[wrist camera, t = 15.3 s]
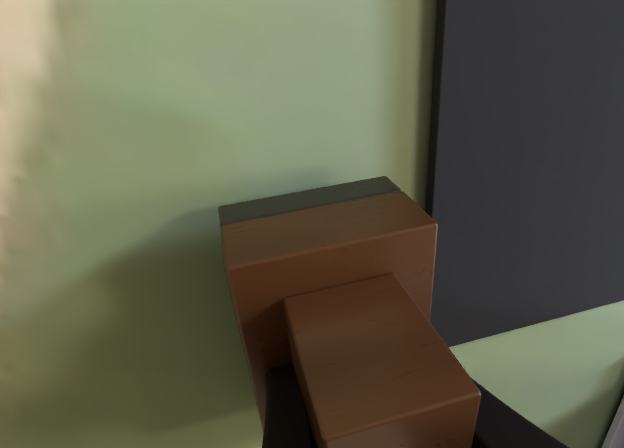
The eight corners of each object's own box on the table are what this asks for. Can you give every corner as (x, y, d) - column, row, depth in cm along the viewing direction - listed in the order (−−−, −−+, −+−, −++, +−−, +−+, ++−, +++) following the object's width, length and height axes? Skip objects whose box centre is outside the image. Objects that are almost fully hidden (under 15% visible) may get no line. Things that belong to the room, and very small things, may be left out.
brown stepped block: (384, 393, 15) (478, 589, 10) (267, 426, 15) (306, 655, 9) (386, 174, 11) (555, 327, 6) (217, 205, 10) (238, 415, 5)
